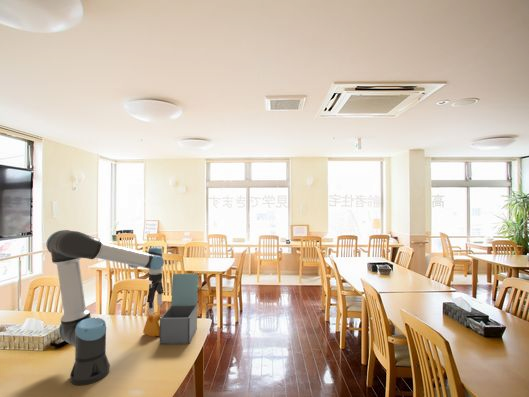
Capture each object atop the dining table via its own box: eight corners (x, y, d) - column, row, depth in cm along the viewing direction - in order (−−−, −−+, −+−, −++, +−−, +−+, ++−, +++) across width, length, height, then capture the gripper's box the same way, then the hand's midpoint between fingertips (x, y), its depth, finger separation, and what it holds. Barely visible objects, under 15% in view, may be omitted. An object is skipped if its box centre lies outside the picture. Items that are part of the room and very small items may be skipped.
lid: (198, 273, 178) (198, 273, 179) (172, 274, 178) (173, 273, 178) (196, 305, 174) (197, 305, 175) (171, 305, 174) (171, 305, 175)
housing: (189, 343, 154) (189, 318, 154) (159, 344, 153) (159, 318, 154) (196, 328, 174) (197, 305, 174) (170, 328, 173) (171, 305, 174)
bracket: (166, 332, 169) (166, 311, 169) (158, 337, 162) (158, 316, 162) (151, 329, 172) (152, 309, 173) (143, 334, 165) (143, 314, 166)
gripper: (154, 278, 156) (154, 317, 155) (168, 268, 181) (168, 301, 180) (140, 278, 156) (140, 317, 155) (156, 268, 181) (156, 301, 180)
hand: (155, 308), depth 168 cm, fingers open, 13 cm apart
